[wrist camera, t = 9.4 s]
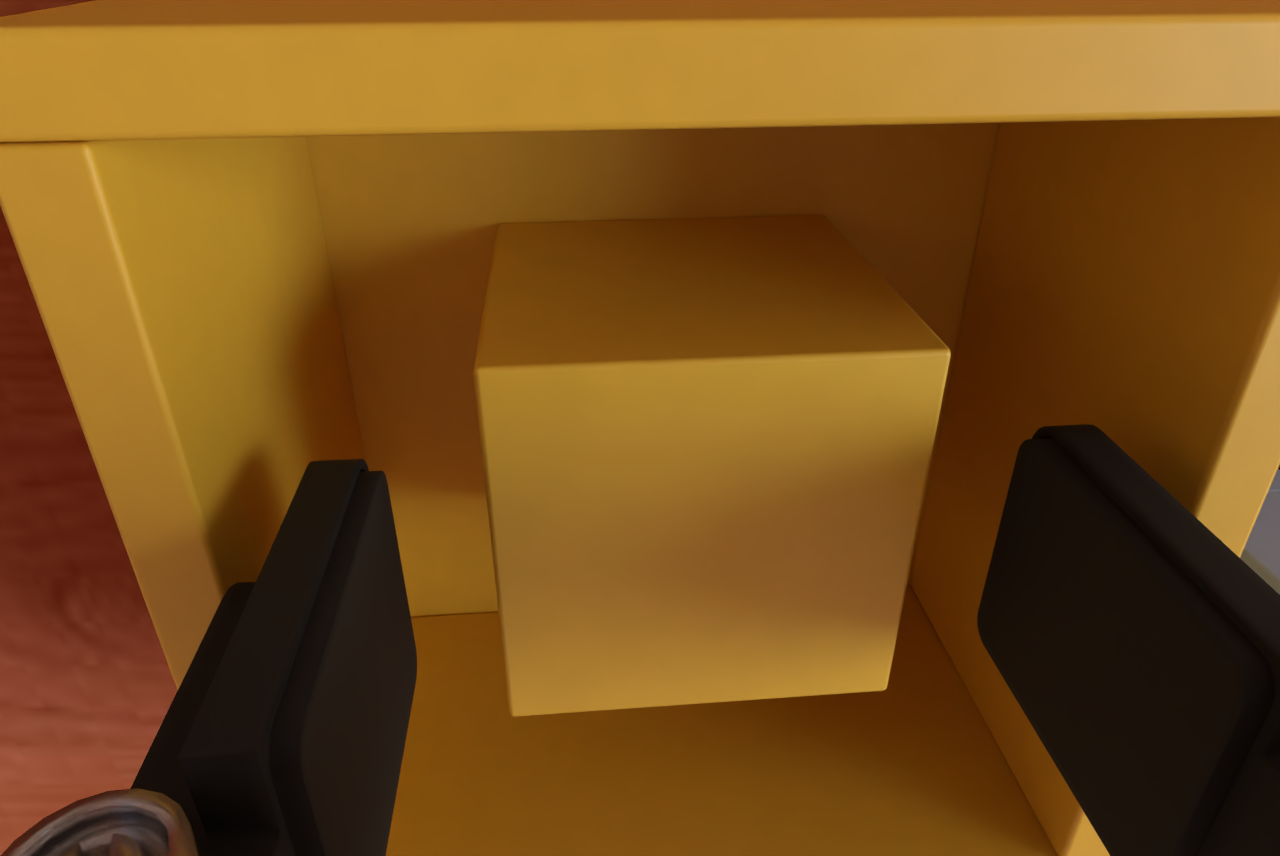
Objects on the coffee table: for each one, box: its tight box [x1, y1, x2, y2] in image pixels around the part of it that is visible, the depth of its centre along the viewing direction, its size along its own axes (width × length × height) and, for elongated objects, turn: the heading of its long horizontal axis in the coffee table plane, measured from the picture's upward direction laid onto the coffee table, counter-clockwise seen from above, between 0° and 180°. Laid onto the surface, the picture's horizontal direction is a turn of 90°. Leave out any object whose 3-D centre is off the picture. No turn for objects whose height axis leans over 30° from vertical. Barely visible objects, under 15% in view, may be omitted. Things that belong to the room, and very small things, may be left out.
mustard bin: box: [0, 0, 1280, 856], centre depth 12 cm, size 12×12×7 cm
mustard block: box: [473, 215, 951, 717], centre depth 12 cm, size 5×5×5 cm
